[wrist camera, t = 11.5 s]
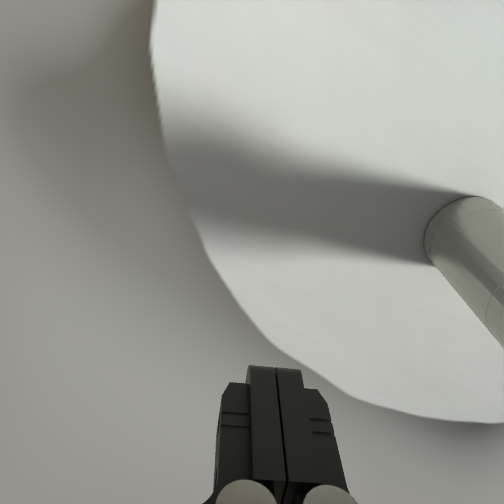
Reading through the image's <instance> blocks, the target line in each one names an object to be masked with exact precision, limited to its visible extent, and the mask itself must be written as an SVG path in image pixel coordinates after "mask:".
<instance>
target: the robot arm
mask: <svg viewBox="0 0 504 504" xmlns="http://www.w3.org/2000/svg"><path fill="white" fill-rule="evenodd" d="M424 247H425V251H426V254H427V255H428V257H429V259H430V260H431V261H432V263H433V264H434V265H435V266H436V267H437V269H438V270H439V271H440V272H441V273H442V275H443V276H444V277H445V278H446V280H447V281H448V282H449V283H450V284H451V286H452V287H453V288H454V289H455V290H456V292H457V293H458V294H459V295H460V296H461V298H462V299H463V300H464V301H465V303H466V304H467V305H468V306H469V307H470V309H471V310H472V311H473V312H474V313H475V315H476V316H477V317H478V318H479V319H480V321H481V322H482V323H483V324H484V325H485V327H486V328H487V329H488V330H489V331H490V333H491V334H492V335H493V336H494V337H495V338H496V340H497V341H498V342H499V343H500V344H501V346H502V347H503V348H504V209H503V208H501V207H500V206H498V205H497V204H495V203H494V202H492V201H490V200H488V199H485V198H480V197H467V198H463V199H459V200H456V201H454V202H452V203H450V204H448V205H447V206H445V207H444V208H442V209H441V210H440V211H439V212H438V213H437V214H436V215H435V216H434V217H433V219H432V220H431V222H430V223H429V225H428V227H427V229H426V233H425V237H424ZM203 504H358V503H357V502H356V500H355V499H354V498H353V497H352V496H351V495H350V493H349V491H348V488H347V485H346V481H345V476H344V472H343V468H342V464H341V460H340V455H339V451H338V447H337V442H336V438H335V436H334V430H333V425H332V423H331V417H330V413H329V408H328V405H327V403H326V401H325V400H324V398H323V397H322V396H321V394H320V393H319V391H318V390H317V389H306V388H304V385H303V379H302V374H301V371H300V370H299V369H288V368H274V367H264V366H253V365H249V366H248V370H247V376H246V382H245V384H244V383H233V382H230V383H229V385H228V386H227V388H226V390H225V391H224V393H223V395H222V399H221V406H220V413H219V420H218V427H217V435H216V453H215V471H214V488H213V494H212V495H211V496H210V498H209V499H208V500H207V501H206V502H204V503H203Z"/></svg>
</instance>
